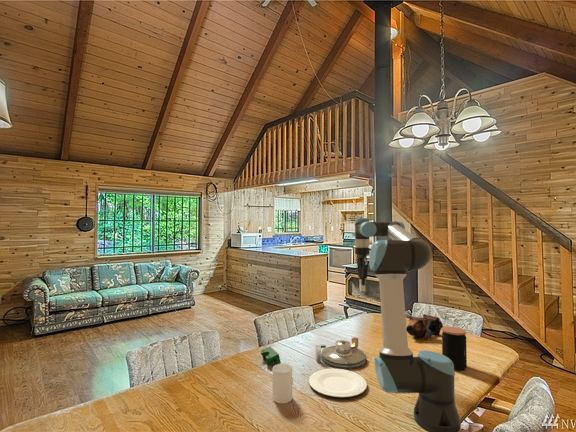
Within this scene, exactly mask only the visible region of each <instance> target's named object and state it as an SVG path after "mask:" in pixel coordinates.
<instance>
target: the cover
mask: <svg viewBox="0 0 576 432" xmlns="http://www.w3.org/2000/svg"><path fill="white" fill-rule="evenodd" d="M334 346H336V349H334V354H335V355H336V356H339V357H349V356H351V355H352V351H351V350H350V346H351V342H350V341H348V340H345V339H344V340H343V339H340V340H336V341H335V345H334Z"/></svg>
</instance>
